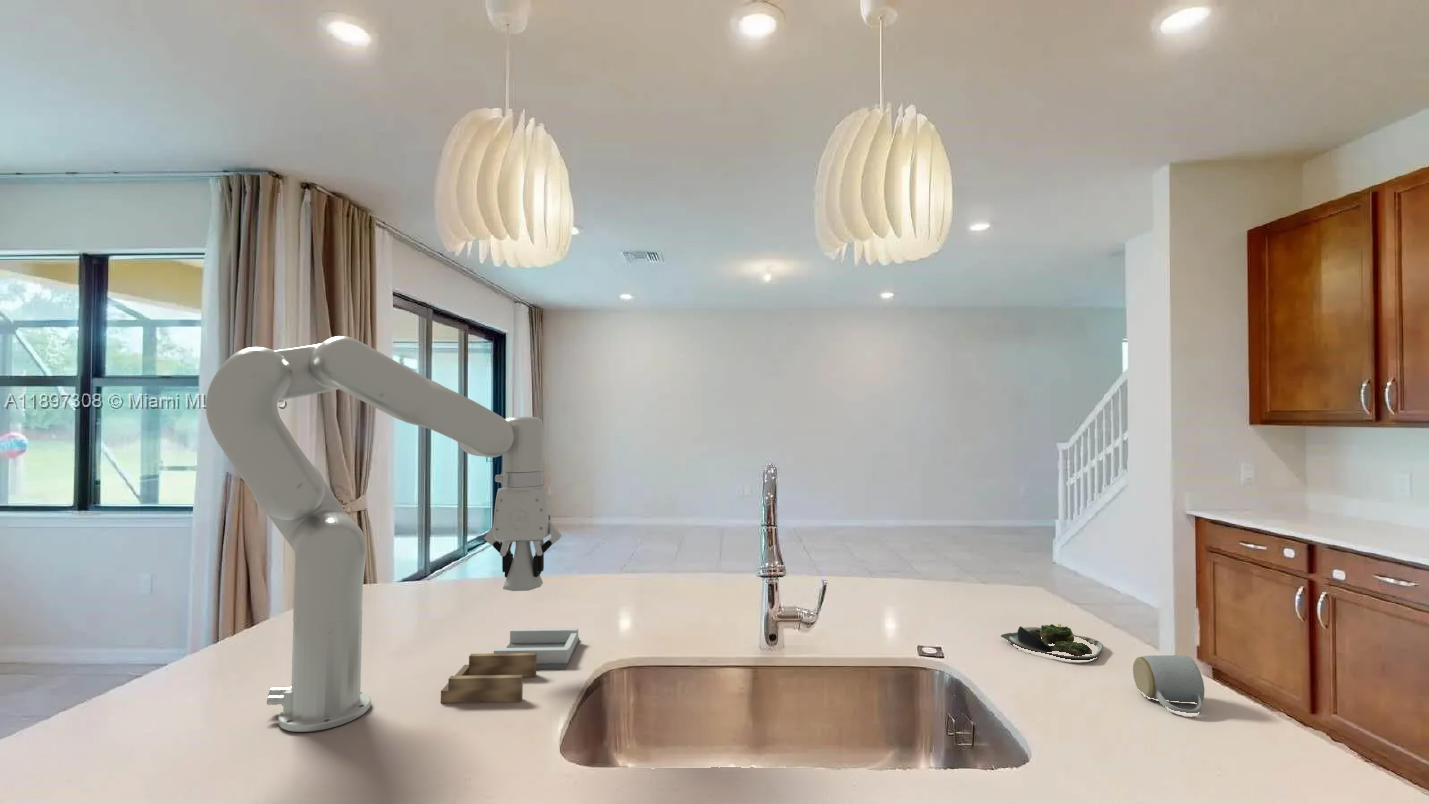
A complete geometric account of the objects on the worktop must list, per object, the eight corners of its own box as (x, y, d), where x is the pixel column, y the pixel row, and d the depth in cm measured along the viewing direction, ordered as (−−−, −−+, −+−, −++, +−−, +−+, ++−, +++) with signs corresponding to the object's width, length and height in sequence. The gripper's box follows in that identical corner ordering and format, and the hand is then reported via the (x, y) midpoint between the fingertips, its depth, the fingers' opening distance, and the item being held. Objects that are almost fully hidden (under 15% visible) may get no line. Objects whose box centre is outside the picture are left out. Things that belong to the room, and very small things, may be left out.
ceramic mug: (1130, 689, 112) (1129, 646, 112) (1180, 692, 110) (1180, 649, 110) (1162, 717, 101) (1161, 670, 101) (1218, 722, 100) (1217, 673, 100)
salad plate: (1026, 626, 147) (1026, 606, 147) (1114, 646, 134) (1113, 624, 134) (994, 647, 133) (994, 625, 133) (1089, 671, 121) (1088, 647, 121)
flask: (530, 593, 115) (530, 539, 116) (495, 591, 117) (495, 538, 117) (549, 583, 122) (549, 532, 123) (516, 581, 124) (516, 531, 124)
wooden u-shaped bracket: (440, 703, 104) (441, 678, 104) (464, 675, 116) (464, 653, 116) (520, 701, 105) (521, 677, 105) (536, 674, 116) (536, 652, 116)
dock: (491, 670, 118) (491, 653, 118) (513, 640, 134) (513, 626, 134) (565, 669, 119) (565, 652, 119) (579, 640, 135) (579, 625, 135)
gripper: (471, 483, 116) (471, 581, 116) (563, 482, 117) (563, 580, 116) (485, 479, 124) (485, 571, 123) (571, 478, 124) (571, 570, 124)
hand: (523, 574), depth 120 cm, fingers closed on flask, 4 cm apart
